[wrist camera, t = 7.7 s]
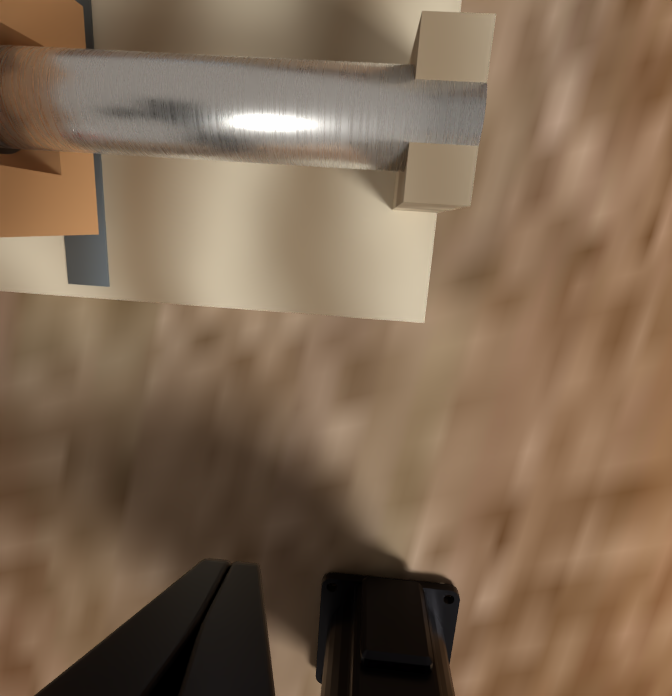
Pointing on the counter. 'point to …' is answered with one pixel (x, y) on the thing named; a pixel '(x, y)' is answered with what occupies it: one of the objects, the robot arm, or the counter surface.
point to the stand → (269, 175)
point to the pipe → (229, 107)
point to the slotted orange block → (39, 165)
